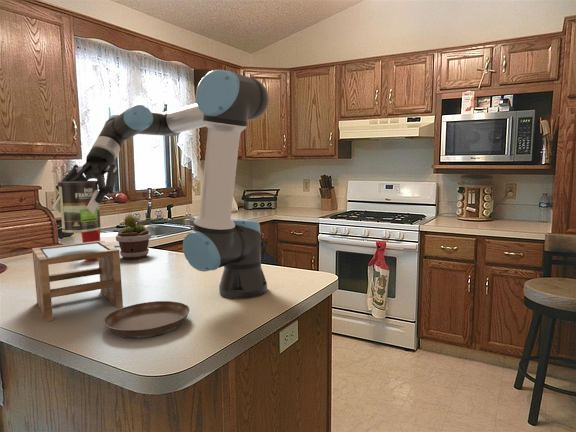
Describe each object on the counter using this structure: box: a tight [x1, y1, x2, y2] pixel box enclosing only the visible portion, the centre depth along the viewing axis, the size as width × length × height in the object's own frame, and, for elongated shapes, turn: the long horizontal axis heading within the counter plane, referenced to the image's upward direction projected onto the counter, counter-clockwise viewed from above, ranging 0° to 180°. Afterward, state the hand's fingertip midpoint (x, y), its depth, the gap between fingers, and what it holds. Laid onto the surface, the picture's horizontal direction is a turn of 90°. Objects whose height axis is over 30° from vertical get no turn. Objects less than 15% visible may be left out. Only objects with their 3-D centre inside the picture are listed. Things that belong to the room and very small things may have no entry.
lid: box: [42, 243, 107, 258], centre depth 121 cm, size 15×15×1 cm
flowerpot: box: [116, 212, 152, 260], centre depth 184 cm, size 14×15×20 cm
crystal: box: [100, 231, 120, 248], centre depth 213 cm, size 7×7×24 cm
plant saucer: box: [103, 300, 190, 339], centre depth 106 cm, size 21×21×3 cm
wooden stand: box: [31, 241, 124, 322], centre depth 122 cm, size 20×20×16 cm
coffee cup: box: [80, 229, 101, 262], centre depth 181 cm, size 8×8×15 cm
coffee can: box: [57, 180, 102, 234], centre depth 120 cm, size 10×10×14 cm
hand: (72, 210), depth 117 cm, fingers closed on coffee can, 10 cm apart
